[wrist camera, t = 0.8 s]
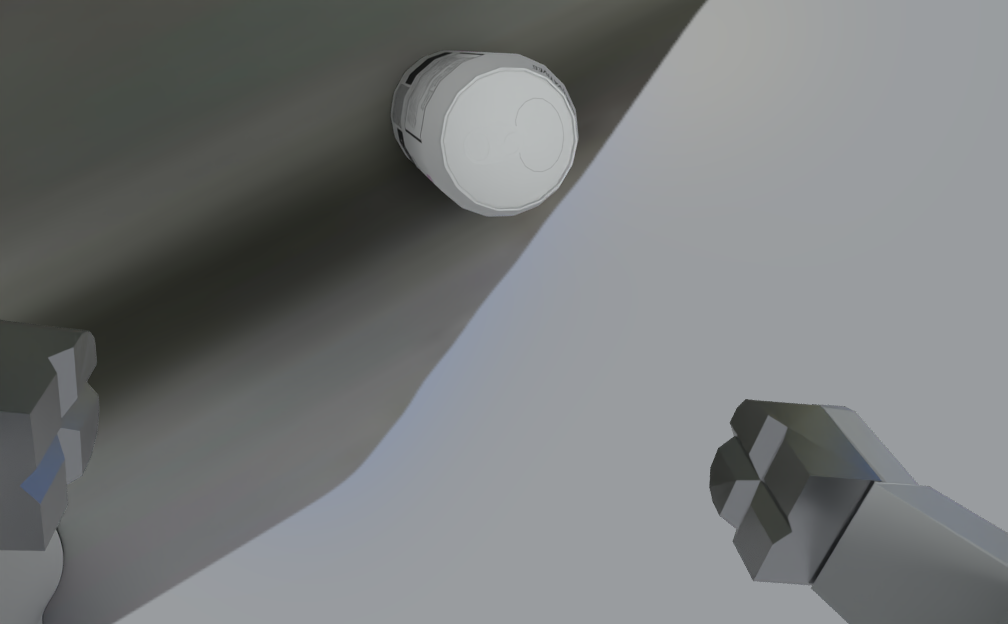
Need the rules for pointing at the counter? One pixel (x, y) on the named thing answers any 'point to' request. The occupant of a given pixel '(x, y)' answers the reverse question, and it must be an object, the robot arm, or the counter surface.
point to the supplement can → (486, 128)
